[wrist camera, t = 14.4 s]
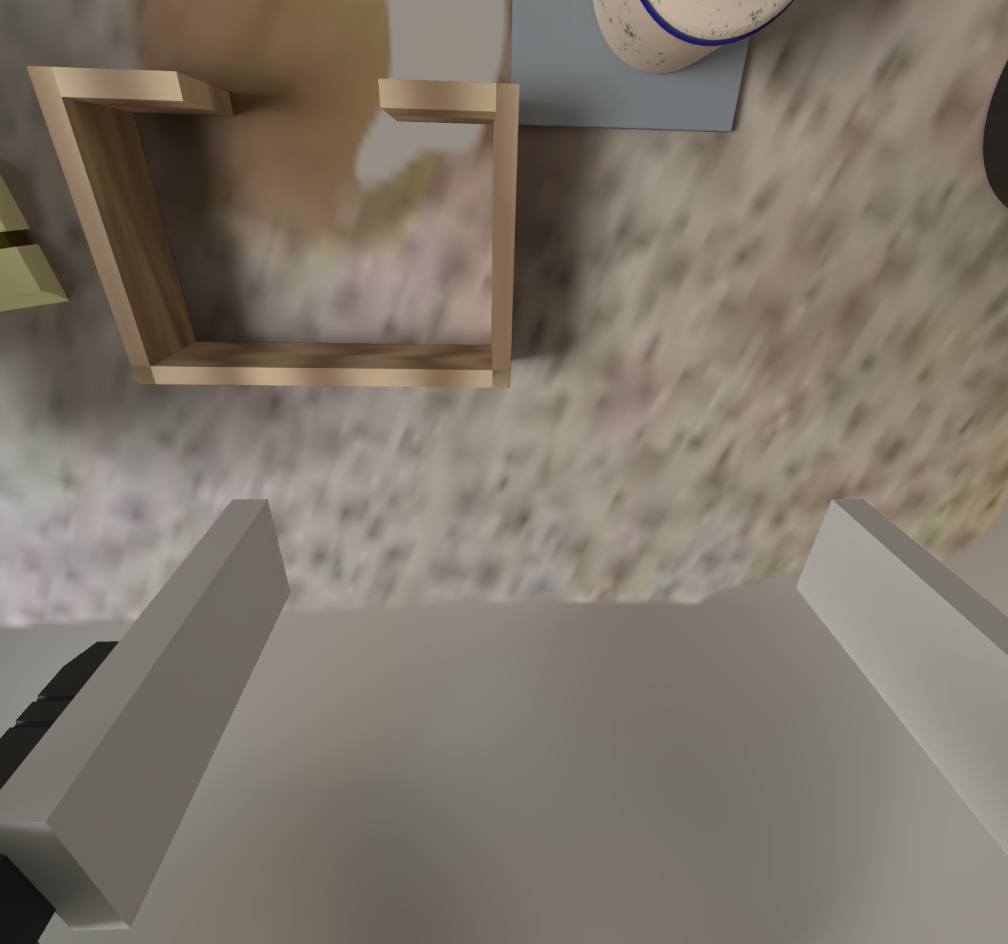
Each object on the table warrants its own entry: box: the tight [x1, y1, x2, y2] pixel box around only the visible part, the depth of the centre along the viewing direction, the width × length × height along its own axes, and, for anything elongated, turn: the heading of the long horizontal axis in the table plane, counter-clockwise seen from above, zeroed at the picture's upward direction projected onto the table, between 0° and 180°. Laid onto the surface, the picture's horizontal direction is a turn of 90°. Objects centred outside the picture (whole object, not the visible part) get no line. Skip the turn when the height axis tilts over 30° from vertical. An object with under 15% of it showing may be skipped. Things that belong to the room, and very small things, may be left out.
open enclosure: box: [26, 66, 519, 388], centre depth 32 cm, size 24×16×6 cm
